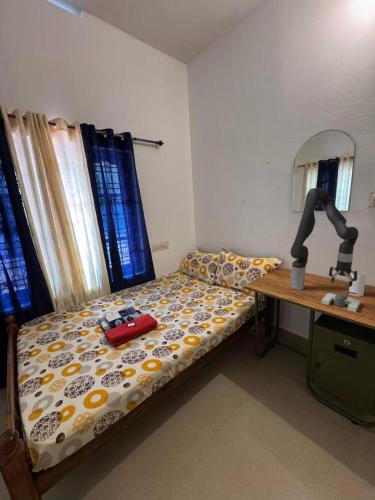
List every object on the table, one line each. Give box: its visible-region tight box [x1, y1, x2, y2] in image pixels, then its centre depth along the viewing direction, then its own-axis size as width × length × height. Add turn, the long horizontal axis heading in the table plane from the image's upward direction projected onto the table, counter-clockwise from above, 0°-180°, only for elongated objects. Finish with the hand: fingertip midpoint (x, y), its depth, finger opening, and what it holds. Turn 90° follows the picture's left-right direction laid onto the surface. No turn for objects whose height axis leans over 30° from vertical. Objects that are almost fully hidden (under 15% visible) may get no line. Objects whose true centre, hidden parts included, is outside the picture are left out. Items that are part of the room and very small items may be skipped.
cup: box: [348, 269, 367, 297], centre depth 150 cm, size 8×8×16 cm
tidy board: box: [321, 289, 361, 313], centre depth 139 cm, size 18×14×8 cm
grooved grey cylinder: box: [334, 294, 346, 308], centre depth 137 cm, size 5×5×6 cm
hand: (341, 284), depth 135 cm, fingers open, 8 cm apart
